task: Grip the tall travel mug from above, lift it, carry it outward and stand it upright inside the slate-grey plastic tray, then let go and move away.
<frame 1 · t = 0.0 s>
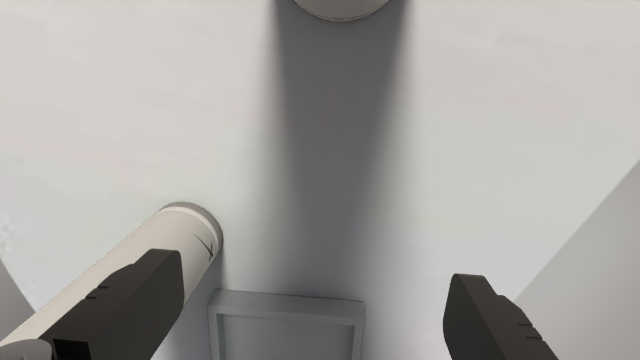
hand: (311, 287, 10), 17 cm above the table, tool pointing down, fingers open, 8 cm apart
travel mug: (190, 230, 30), on the table
tray: (287, 359, 34), on the table
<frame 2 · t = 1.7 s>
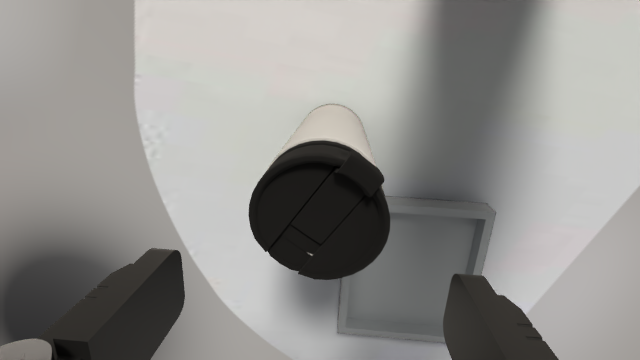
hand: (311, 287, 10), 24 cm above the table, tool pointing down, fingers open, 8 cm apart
travel mug: (333, 134, 33), on the table
tray: (406, 265, 37), on the table
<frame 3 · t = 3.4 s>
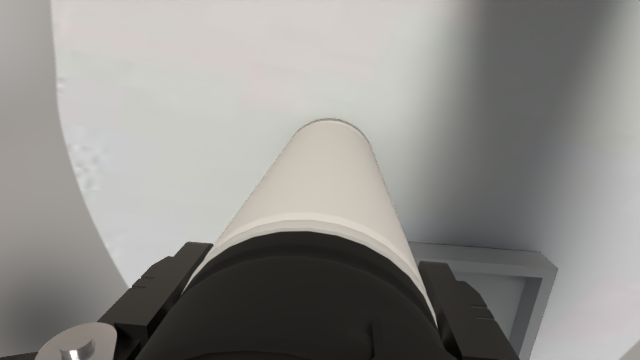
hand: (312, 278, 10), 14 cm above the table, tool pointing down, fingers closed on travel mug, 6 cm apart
travel mug: (330, 159, 24), on the table, touching gripper
tray: (428, 330, 28), on the table
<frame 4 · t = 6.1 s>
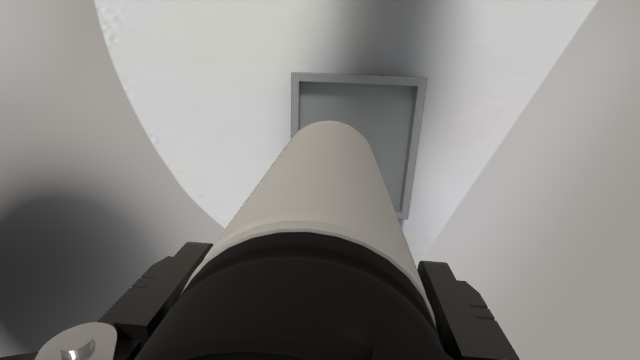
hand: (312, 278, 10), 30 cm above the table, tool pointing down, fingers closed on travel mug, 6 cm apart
travel mug: (330, 159, 24), point 15 cm above the table, touching gripper
tray: (352, 146, 39), on the table
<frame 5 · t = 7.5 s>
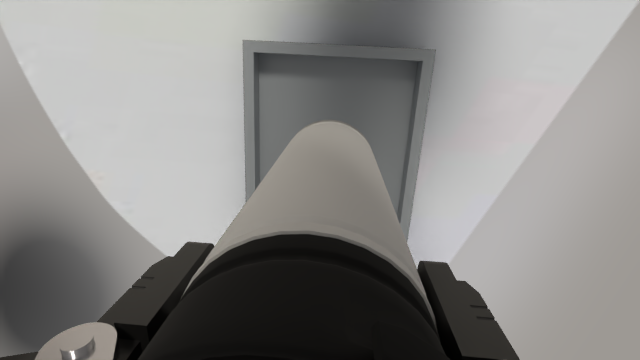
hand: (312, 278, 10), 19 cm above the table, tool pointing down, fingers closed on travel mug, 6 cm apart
travel mug: (330, 160, 24), point 5 cm above the table, touching gripper
tray: (332, 146, 29), on the table
when the fingers open (16 cm above the table, at t = 8.7 s): travel mug drops 1 cm, resting on tray.
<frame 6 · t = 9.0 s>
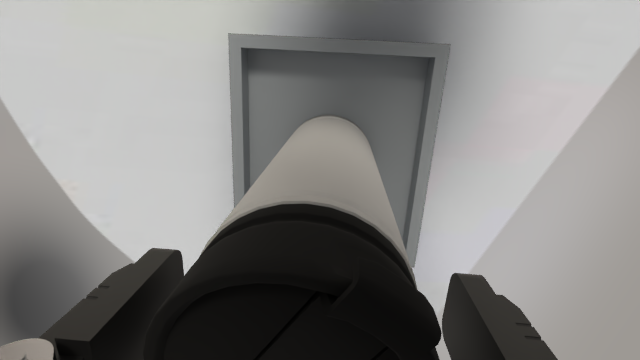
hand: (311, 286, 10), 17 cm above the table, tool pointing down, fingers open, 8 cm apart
travel mug: (330, 153, 25), resting on tray
tray: (331, 153, 26), on the table
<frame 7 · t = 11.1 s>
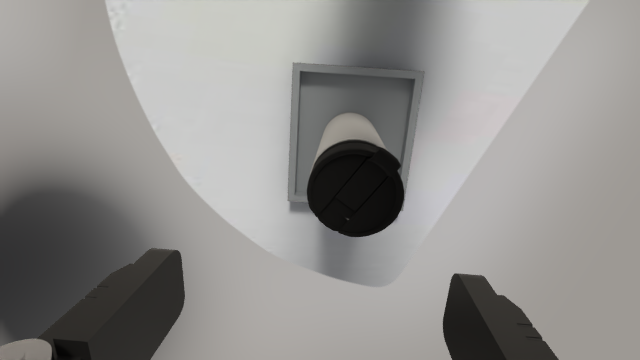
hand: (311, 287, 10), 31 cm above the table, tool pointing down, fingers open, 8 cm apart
travel mug: (350, 137, 40), resting on tray
tray: (350, 137, 40), on the table
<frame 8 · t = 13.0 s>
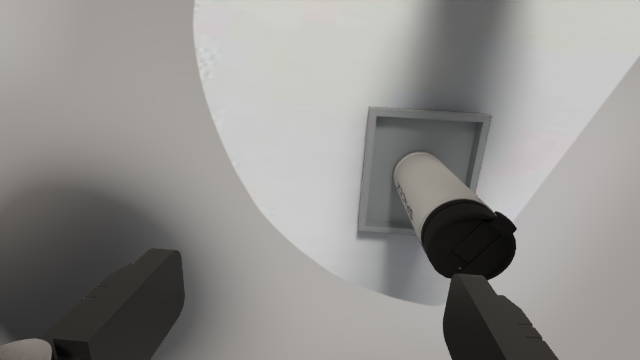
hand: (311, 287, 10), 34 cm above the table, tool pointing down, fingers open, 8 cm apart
travel mug: (417, 172, 43), resting on tray
tray: (416, 172, 44), on the table
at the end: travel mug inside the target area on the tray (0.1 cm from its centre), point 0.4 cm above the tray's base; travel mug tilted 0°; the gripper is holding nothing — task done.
